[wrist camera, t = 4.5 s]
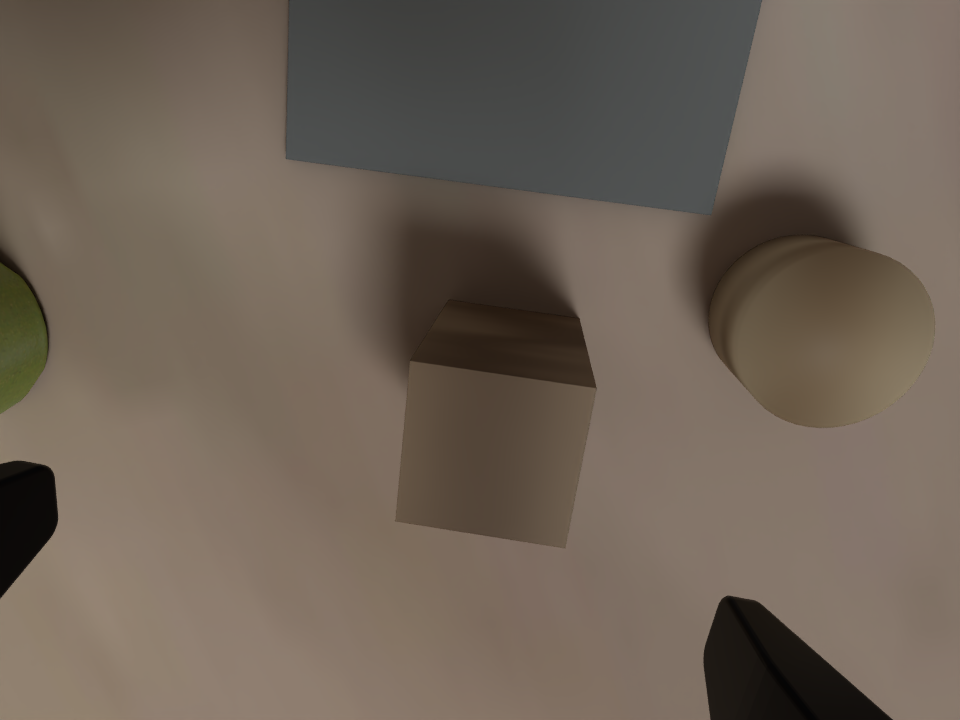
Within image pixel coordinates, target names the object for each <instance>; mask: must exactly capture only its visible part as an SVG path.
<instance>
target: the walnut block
mask: <svg viewBox="0 0 960 720" xmlns="http://www.w3.org/2000/svg"><path fill="white" fill-rule="evenodd" d="M596 389H597V388H596V384H595V380H594V376H593V372H592V368H591V364H590V359H589V355H588V351H587V347H586V343H585V339H584V335H583V331H582V327H581V323H580V319H579V318H573V317H566V316H559V315H552V314H545V313H538V312H531V311H524V310H517V309H510V308H503V307H496V306H489V305H482V304H475V303H468V302H461V301H454V300H448V302H447V303H446V305H445V306H444V308H443V310H442V311H441V313H440V314H439V316H438V318H437V319H436V321H435V322H434V324H433V325H432V327H431V329H430V330H429V332H428V333H427V335H426V337H425V338H424V340H423V341H422V343H421V344H420V346H419V348H418V349H417V351H416V352H415V354H414V356H413V357H412V359H411V360H410V367H409V378H408V389H407V400H406V411H405V422H404V432H403V443H402V454H401V465H400V476H399V487H398V498H397V509H396V520H395V521H397V522H403V523H409V524H415V525H422V526H428V527H434V528H440V529H447V530H453V531H459V532H466V533H472V534H478V535H484V536H491V537H497V538H503V539H510V540H516V541H522V542H528V543H535V544H541V545H547V546H553V547H560V548H565V547H566V542H567V537H568V532H569V526H570V521H571V516H572V511H573V506H574V501H575V496H576V491H577V486H578V481H579V476H580V470H581V465H582V460H583V455H584V450H585V445H586V440H587V435H588V430H589V425H590V420H591V414H592V409H593V404H594V399H595V394H596Z"/></svg>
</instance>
